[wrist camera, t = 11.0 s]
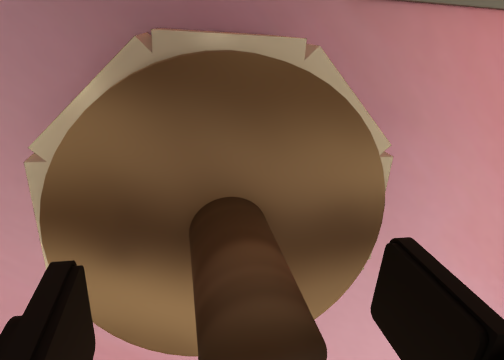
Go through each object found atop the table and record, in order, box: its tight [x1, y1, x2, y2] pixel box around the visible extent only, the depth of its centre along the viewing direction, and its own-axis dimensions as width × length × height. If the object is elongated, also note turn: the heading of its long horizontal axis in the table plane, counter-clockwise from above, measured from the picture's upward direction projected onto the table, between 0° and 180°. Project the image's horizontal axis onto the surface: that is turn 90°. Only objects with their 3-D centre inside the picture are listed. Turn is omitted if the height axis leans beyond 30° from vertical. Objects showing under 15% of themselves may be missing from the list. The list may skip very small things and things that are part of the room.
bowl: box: [24, 28, 393, 270], centre depth 17 cm, size 14×14×6 cm
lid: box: [39, 50, 385, 360], centre depth 11 cm, size 13×13×7 cm
